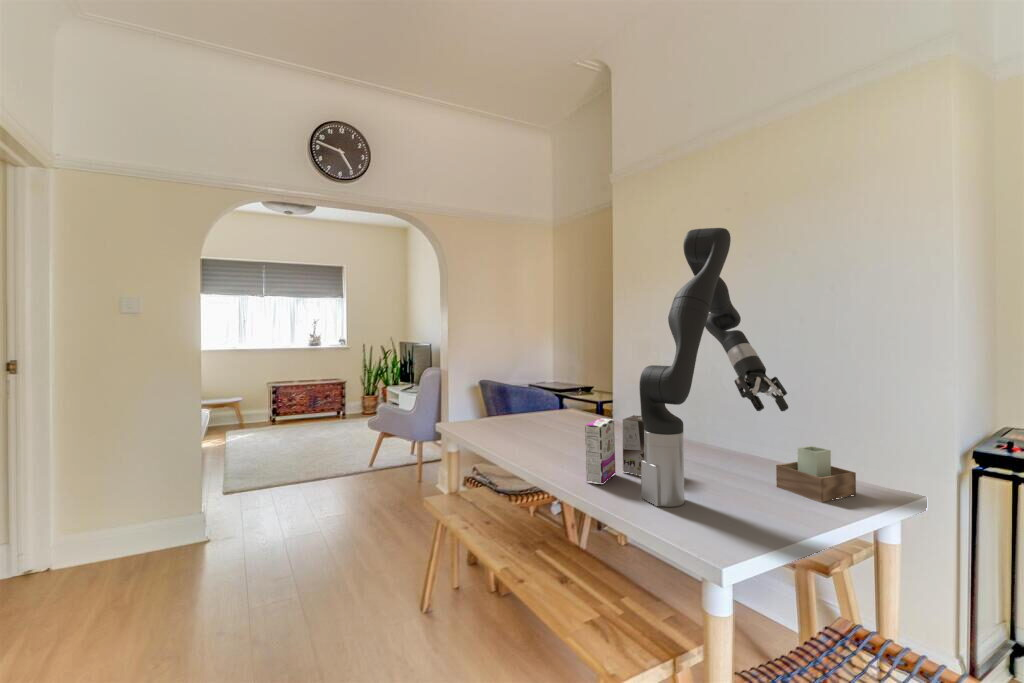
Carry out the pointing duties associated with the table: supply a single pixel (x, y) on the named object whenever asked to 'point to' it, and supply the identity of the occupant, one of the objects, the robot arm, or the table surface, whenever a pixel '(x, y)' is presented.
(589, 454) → the candy bar box
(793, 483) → the walnut crate
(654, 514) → the table surface
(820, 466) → the green square vase
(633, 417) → the coffee box
